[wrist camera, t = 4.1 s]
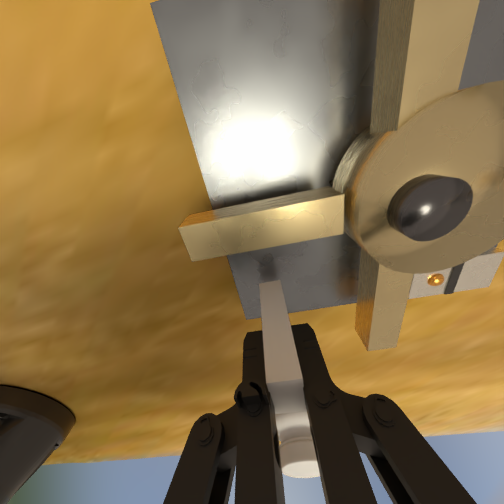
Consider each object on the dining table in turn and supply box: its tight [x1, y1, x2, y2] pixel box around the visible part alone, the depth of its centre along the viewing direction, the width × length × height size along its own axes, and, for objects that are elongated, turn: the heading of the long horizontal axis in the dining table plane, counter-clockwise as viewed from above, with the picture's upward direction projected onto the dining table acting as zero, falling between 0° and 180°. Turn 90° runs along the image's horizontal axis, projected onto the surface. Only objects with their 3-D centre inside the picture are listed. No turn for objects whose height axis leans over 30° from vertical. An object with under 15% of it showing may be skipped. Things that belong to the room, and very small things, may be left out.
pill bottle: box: [275, 411, 320, 478], centre depth 20 cm, size 5×5×10 cm
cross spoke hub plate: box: [150, 0, 504, 320], centre depth 13 cm, size 20×20×3 cm
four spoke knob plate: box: [178, 0, 504, 351], centre depth 10 cm, size 22×22×4 cm
